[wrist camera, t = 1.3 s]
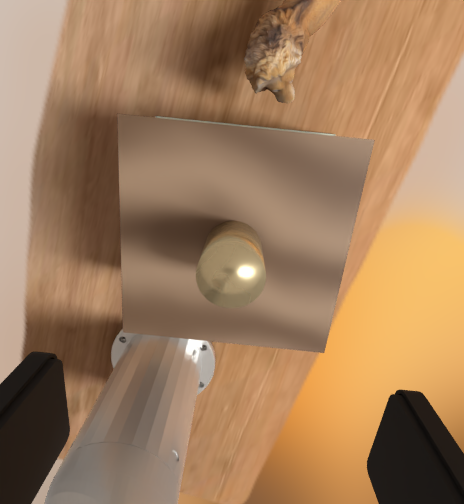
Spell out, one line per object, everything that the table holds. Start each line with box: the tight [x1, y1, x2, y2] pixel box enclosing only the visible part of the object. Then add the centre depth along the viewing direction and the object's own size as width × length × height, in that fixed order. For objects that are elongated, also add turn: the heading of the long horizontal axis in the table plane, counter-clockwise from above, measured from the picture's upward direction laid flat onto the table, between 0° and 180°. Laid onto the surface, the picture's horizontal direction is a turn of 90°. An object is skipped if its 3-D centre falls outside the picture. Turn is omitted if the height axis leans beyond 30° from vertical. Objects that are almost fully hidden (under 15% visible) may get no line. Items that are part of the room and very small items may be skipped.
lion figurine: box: [244, 0, 341, 103], centre depth 23 cm, size 15×5×9 cm, turn 142°
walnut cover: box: [117, 114, 374, 353], centre depth 26 cm, size 16×16×16 cm
